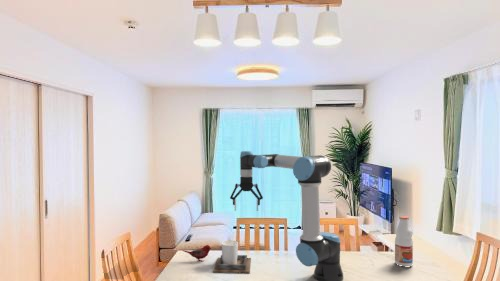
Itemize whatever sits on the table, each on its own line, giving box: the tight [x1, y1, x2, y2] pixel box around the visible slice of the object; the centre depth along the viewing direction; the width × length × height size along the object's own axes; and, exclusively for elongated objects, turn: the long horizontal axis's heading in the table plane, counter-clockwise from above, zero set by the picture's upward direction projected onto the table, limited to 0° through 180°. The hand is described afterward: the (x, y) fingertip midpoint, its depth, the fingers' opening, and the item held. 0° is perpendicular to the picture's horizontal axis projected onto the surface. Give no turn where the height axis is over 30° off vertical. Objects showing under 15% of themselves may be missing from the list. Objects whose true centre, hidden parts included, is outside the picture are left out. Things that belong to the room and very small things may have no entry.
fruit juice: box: [394, 215, 414, 266], centre depth 192 cm, size 9×9×28 cm
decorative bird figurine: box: [182, 244, 212, 263], centre depth 197 cm, size 3×18×10 cm, turn 83°
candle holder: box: [221, 239, 239, 264], centre depth 191 cm, size 10×10×12 cm
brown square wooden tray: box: [212, 254, 252, 274], centre depth 190 cm, size 20×20×4 cm
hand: (246, 210), depth 205 cm, fingers open, 13 cm apart
